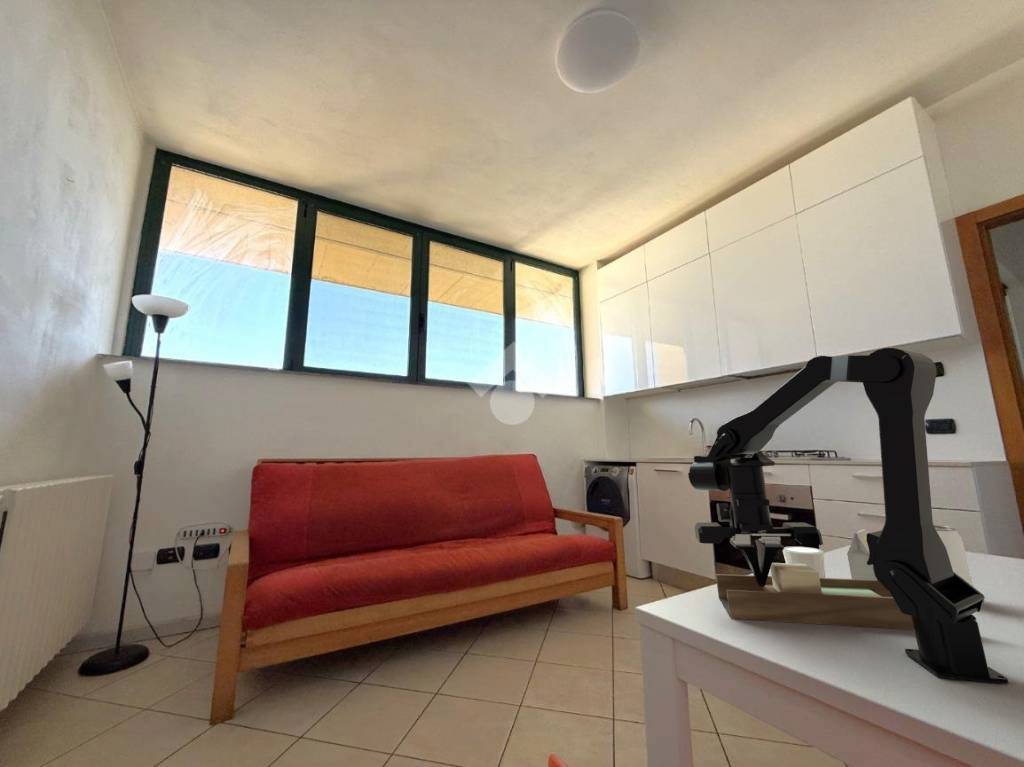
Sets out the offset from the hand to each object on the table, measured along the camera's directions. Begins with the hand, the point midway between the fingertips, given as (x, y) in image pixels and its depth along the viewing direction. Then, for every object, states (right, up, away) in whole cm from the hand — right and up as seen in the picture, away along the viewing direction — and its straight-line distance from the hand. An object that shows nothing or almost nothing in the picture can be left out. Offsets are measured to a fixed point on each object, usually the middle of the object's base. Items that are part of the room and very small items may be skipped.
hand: (761, 585), depth 70 cm
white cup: (+16, -6, +10) cm, 20 cm away
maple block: (+5, 0, -2) cm, 5 cm away
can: (+34, -3, +1) cm, 34 cm away
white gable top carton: (+28, -5, +11) cm, 31 cm away
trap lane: (+9, -3, -3) cm, 10 cm away
